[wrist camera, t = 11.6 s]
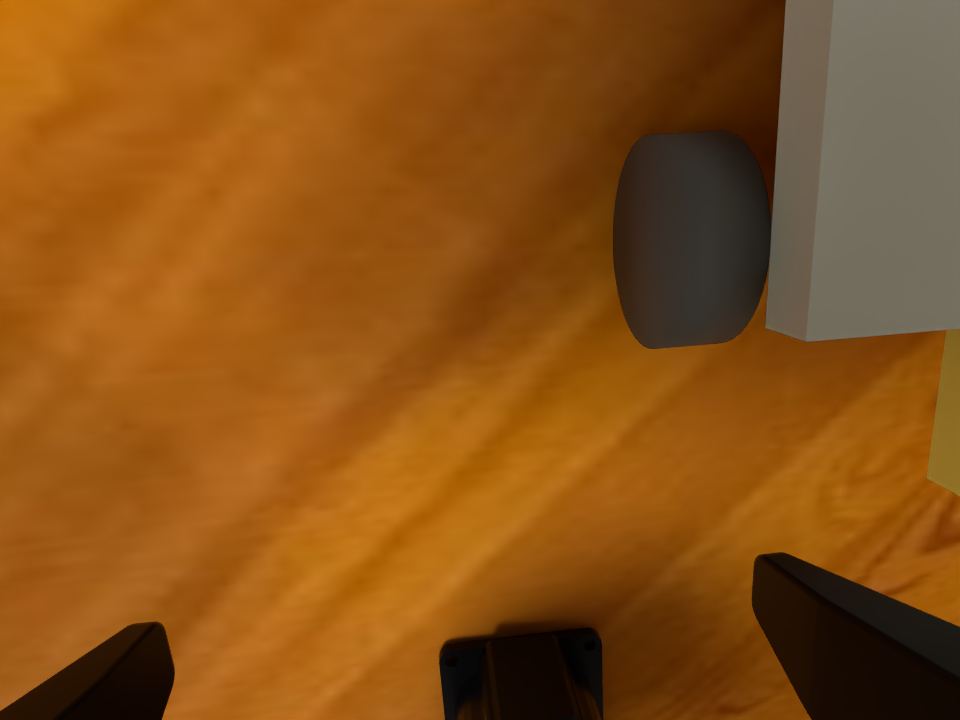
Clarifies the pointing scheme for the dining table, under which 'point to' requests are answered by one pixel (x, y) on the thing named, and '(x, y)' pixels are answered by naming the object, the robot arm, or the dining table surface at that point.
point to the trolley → (810, 192)
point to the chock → (947, 419)
